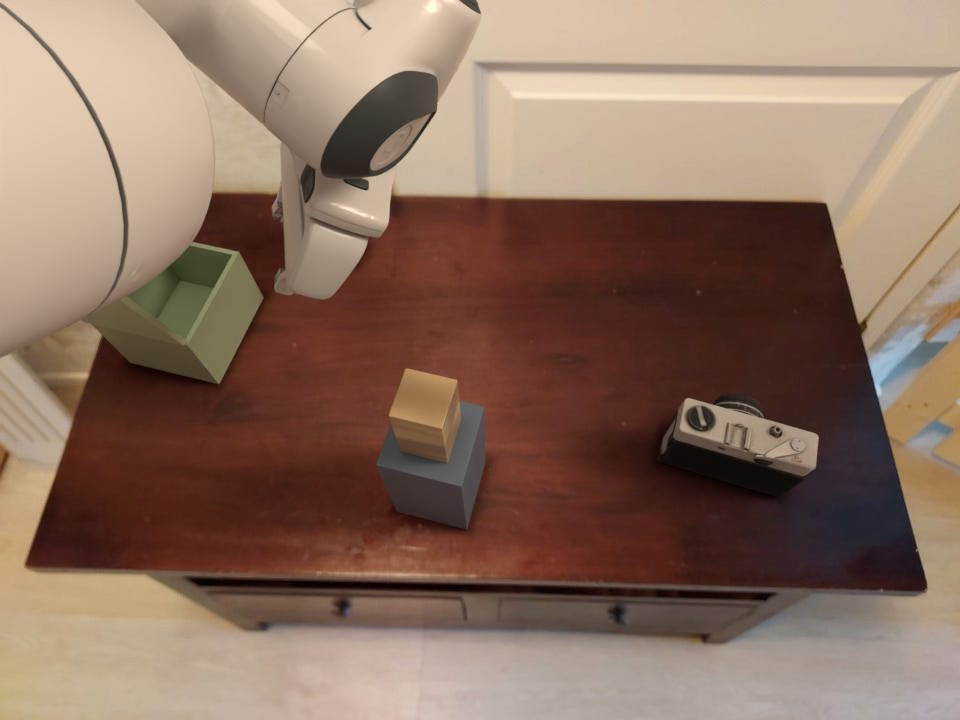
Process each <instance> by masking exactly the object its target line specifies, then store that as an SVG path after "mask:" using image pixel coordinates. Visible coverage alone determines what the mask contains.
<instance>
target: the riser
mask: <svg viewBox="0 0 960 720" xmlns="http://www.w3.org/2000/svg"><path fill="white" fill-rule="evenodd" d="M459 403H460V412H461V422H460V425H459V428H458V432H457V435H456V438H455V442H454V445H453V448H452V451H451V455H450V458H449V461H448V463H444V462H440V461H436V460H432V459H428V458H424V457H420V456H416V455H412V454H408V453H404V452H401V451H400V449H399V446H398V443H397V440H396V437H395V434H394V431H393V428H392V425H391V423H390V424H389V427H388V428H387V429H388V430H387V433H386V435H385V438H384V440H383V444H382V447H381V449H380V451H379V455H378V458H377V459H376V463H375V466H376V468H377V471H378V473H379V476H380V477H381V479H382V482H383V484H384V486H385V489H386V490H387V493H388V494H389V497H390V499H391V501H392V503H393V506H394V508H395V510H396V512H397V513H401V514H404V515H409V516H413V517H417V518H420V519H425V520H427V521H432V522H436V523H439V524H443V525H447V526H451V527H454V528H459V529H462V530H466V531H467V530H468V529H469V524H470V521H471V518H472V513H473V510H474V507H475V503H476V499H477V496H478V491H479V488H480V485H481V480H482V477H483V475H484V470H485V466H486V463H487V462H486V460H487V459H486V458H487V457H486V422H485V421H486V420H485V419H486V417H485V415H486V414H485V413H486V412H485V406H482V405H479V404H475V403H470V402H465V401H462V400H459Z"/></svg>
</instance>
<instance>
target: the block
mask: <svg viewBox="0 0 960 720" xmlns="http://www.w3.org/2000/svg"><path fill="white" fill-rule="evenodd" d="M459 401H460V395H459V384H458V380H457V379H456V378H455V379H454V378H450V377H446V376H442V375H438V374H433V373H429V372H424V371H420V370H415V369H411V368H407V367H406V368H404V370H403V374H402V377H401V379H400V382H399V385H398V388H397V390H396V393H395V395H394V399H393V402H392V404H391V406H390V410H389V412H388V419H389V422H390V424H391V425H392V428H393V431H394V434H395V437H396V440H397V443H398V446H399V449H400V451H401V452H404V453H408V454H412V455H416V456H420V457H424V458H428V459H432V460H436V461H440V462H444V463H448V461H449V458H450V455H451V451H452V448H453V445H454V442H455V438H456V435H457V432H458V428H459V425H460V422H461V412H460V403H459Z"/></svg>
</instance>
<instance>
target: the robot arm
mask: <svg viewBox="0 0 960 720" xmlns="http://www.w3.org/2000/svg"><path fill="white" fill-rule="evenodd" d="M482 16H483V15H482V11H481V9H480V6H479V2H478V1H477V0H354V1H353V3H352V2H350V1H349V0H0V359H2V358H4V357H7V356H9V355H11V354H13V353H16V352H18V351H20V350H22V349H24V348H27V347H29V346H31V345H34V344H36V343H37V342H38V343H39V342H40V341H42V340H44V339H46V338H47V337H48V338H49V337H50V336H52V335H54V334H56V333H58V332H60V331H62V330H64V329H66V328H69V327H70V326H73V325H74V324H77V323H78V322H80V321H82V319H84V318H86V317H88V316H90V315H92V314H94V313H96V312H98V311H100V310H102V309H104V308H106V307H108V306H110V305H112V304H114V303H116V302H117V301H119V300H121V299H123V298H125V297H126V296H128V295H130V294H131V293H133V292H135V291H136V290H138V289H139V288H141V287H142V286H144V285H145V284H147V283H148V282H149V281H151V280H152V279H154V278H155V277H156V276H157V275H159V274H160V273H161V272H163V271H164V270H165V269H166V268H167V267H168V266H170V265H171V264H172V263H173V262H174V261H175V260H176V259H177V258H178V257H179V256H180V255H181V254H182V253H183V252H184V251H185V250H186V249H187V248H188V247H189V245H190V244H191V243H192V242H194V240H195V239H196V237H197V235H198V234H199V232H200V231H201V228H202V226H203V223H204V222H205V218H206V216H207V213H208V210H209V207H210V204H211V200H212V196H213V192H214V187H215V177H216V176H215V175H216V147H215V145H216V143H215V136H214V130H213V124H212V119H211V114H210V111H209V107H208V103H207V100H206V98H205V95H204V92H203V90H202V86H201V84H200V83H199V80H198V78H197V75H196V74H195V72H194V70H193V68H192V66H191V64H192V65H193V66H194V67H195V68H197V69H198V70H199V71H201V73H203V74H204V75H205V76H206V77H207V78H208V79H209V80H211V81H212V82H213V83H214V84H215V85H216V86H218V87H219V88H220V89H221V90H222V91H224V92H225V93H226V94H227V95H228V96H229V97H230V98H232V100H234V101H235V102H236V103H237V104H238V105H240V106H241V107H242V108H243V109H244V110H245V111H246V112H248V113H249V114H250V115H251V116H253V118H254V119H256V120H257V121H258V122H259V123H260V124H262V125H263V126H264V127H265V128H266V130H268V132H270V133H271V134H272V135H273V136H274V137H276V138H277V139H278V140H279V141H280V145H279V157H280V159H279V160H280V177H281V179H280V181H279V182H280V183H279V187H278V190H277V194H276V198H275V200H274V201H273V204H272V206H271V219H272V220H273V221H274V222H279V223H281V224H282V225H283V226H282V229H283V245H284V247H283V251H284V268H281V267H279V269H278V270H277V272H276V274H275V275H274V276H273V289H274V292H275V293H277V294H280V295H284V296H292V295H293V294H295V295H298V296H302V297H305V298H309V299H314V300H321V301H322V300H328V299H330V298H332V297H333V296H334V295H335V294H336V293H337V291H338V290H339V289H340V288H341V287H342V285H343V284H344V283H345V282H346V280H347V279H348V277H349V276H350V274H351V273H352V272H353V271H354V270H355V268H356V267H357V265H358V264H359V262H360V261H361V260H362V258H363V256H364V253H365V251H366V250H367V246H368V243H369V238H373V239H379V238H380V237H381V236H382V235H383V234H384V233H385V231H386V229H387V228H388V226H389V222H390V212H391V211H390V210H391V199H392V190H393V186H394V181H395V177H396V174H397V171H398V164H400V162H401V161H402V160H403V159H404V158H405V157H406V156H407V155H408V153H410V152H411V150H412V148H413V147H414V146H415V145H416V143H417V142H418V140H419V139H420V138H421V136H422V134H423V133H424V131H425V130H426V129H427V127H428V126H429V124H430V123H431V121H432V120H433V118H434V117H435V115H436V114H437V112H438V103H439V101H440V100H441V99H442V96H443V95H444V93H445V92H446V91H447V89H448V87H449V85H450V84H451V82H452V81H453V79H454V77H455V75H456V74H457V72H458V70H459V68H460V66H461V65H462V62H463V60H464V59H465V57H466V55H467V52H468V50H469V48H470V46H471V44H472V43H473V40H474V38H475V36H476V34H477V32H478V29H479V26H480V23H481V21H482ZM362 255H363V256H362ZM361 257H362V258H361Z"/></svg>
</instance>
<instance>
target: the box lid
mask: <svg viewBox="0 0 960 720" xmlns="http://www.w3.org/2000/svg"><path fill="white" fill-rule="evenodd" d="M81 321H82V322H84V323H86V324H90V325H91V324H94V325H98V326H102V327H106V328H111V329H115V330H119V331H123V332H127V333H132V334H136V335H140V336H144V337H148V338H153V339H157V340H161V341H165V342H169V343H174V344H178V345H182V346H184V345H185V343H186V340H185V339H184V338H183V337H181V336H180V335H179V334H177V333H176V332H174V331H173V330H172V329H170V328H169V327H168V326H166V325H165V324H164V323H162V322H161V321H159V320H158V319H157V318H155V317H154V316H153V315H151V314H150V313H149V312H147V311H146V310H144V309H143V308H142V307H140V306H139V305H138V304H136V303H135V302H134V301H132V300H131V299H129V298H128V297H127V296H126V297H125V298H123V299H121V300H119V301H117V302H116V303H114V304H112V305H110V306H108V307H106V308H104V309H102V310H100V311H98V312H96V313H94V314H92V315H90V316H88V317H86V318H84V319H82V320H81Z"/></svg>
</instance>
